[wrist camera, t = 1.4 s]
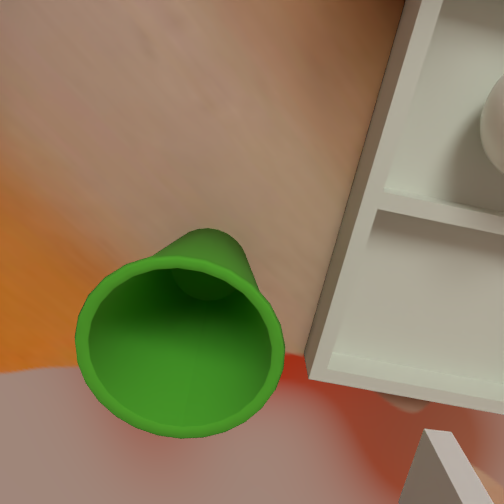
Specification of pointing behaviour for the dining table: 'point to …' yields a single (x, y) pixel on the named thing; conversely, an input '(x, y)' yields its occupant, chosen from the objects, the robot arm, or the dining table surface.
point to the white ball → (494, 125)
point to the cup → (182, 339)
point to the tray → (423, 224)
